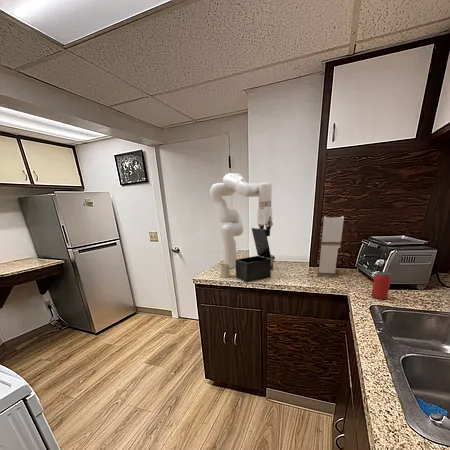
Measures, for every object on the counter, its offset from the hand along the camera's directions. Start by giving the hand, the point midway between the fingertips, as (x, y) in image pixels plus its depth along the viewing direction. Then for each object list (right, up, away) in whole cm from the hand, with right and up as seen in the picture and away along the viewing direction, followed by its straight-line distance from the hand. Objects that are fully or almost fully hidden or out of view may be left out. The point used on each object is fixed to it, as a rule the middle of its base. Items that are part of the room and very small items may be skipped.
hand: (264, 235), depth 156 cm
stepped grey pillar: (+41, -24, +5) cm, 48 cm away
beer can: (+50, -40, -36) cm, 73 cm away
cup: (-25, -25, +11) cm, 37 cm away
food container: (+4, -19, +23) cm, 30 cm away
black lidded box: (-7, -26, +6) cm, 27 cm away
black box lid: (-2, -5, 0) cm, 6 cm away
